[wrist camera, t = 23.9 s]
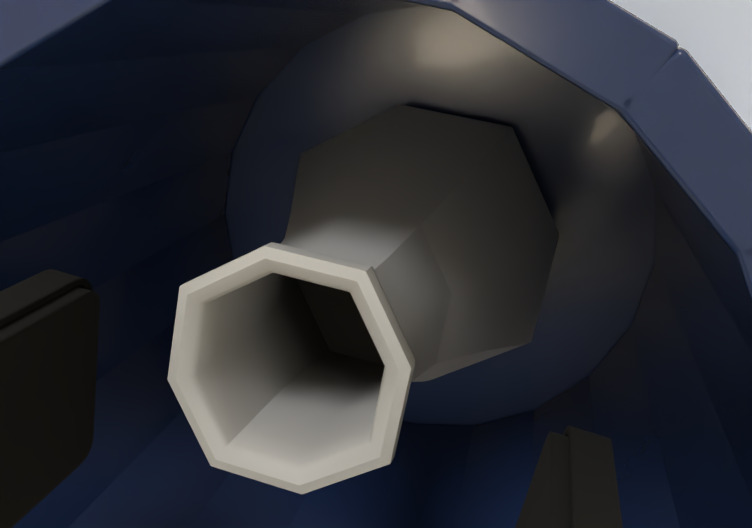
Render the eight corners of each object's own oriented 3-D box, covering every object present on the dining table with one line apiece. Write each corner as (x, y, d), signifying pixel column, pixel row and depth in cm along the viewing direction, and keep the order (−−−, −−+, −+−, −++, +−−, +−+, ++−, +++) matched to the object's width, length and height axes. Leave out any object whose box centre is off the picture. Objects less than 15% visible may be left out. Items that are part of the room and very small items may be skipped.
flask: (547, 84, 16) (567, 18, 7) (569, 370, 18) (613, 654, 8) (268, 123, 18) (-27, 114, 9) (305, 381, 19) (82, 626, 10)
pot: (147, -90, 19) (-387, -241, 8) (895, 61, 16) (1596, 134, 5) (120, 342, 24) (-231, 597, 13) (682, 521, 21) (813, 1040, 10)
